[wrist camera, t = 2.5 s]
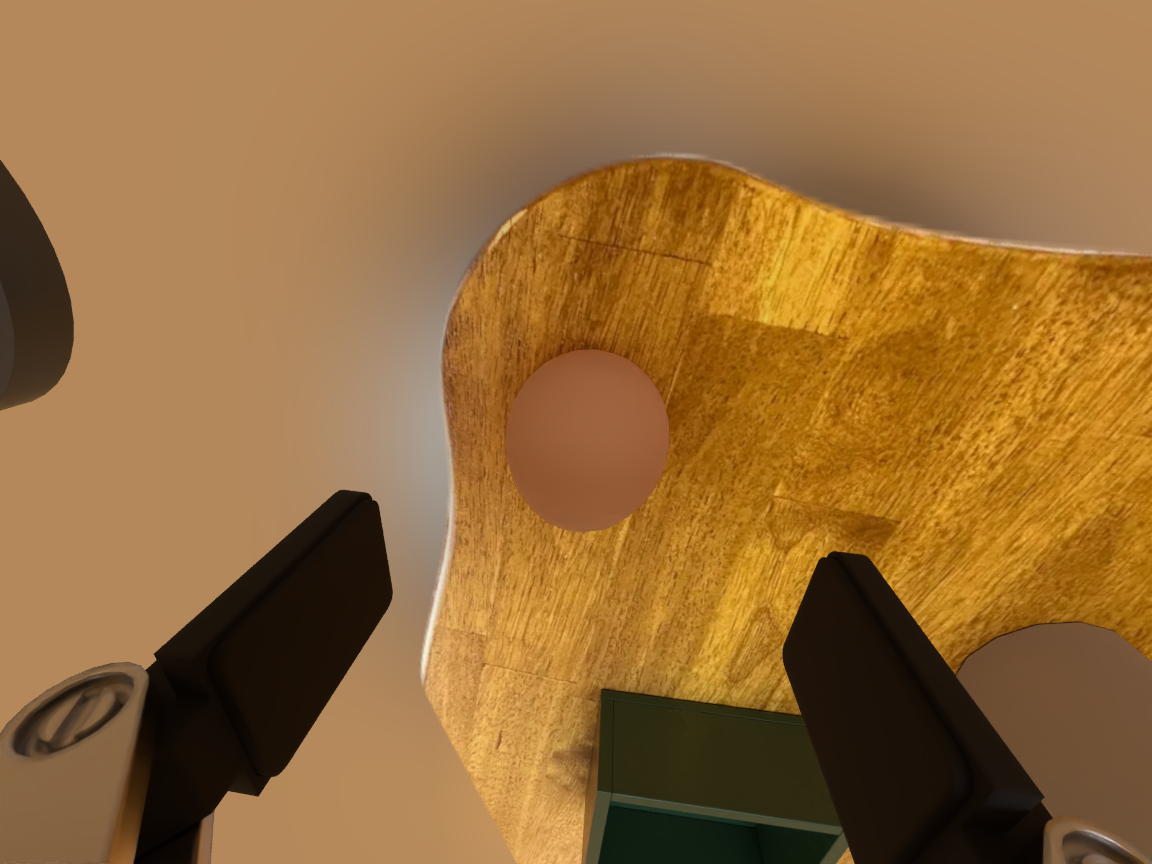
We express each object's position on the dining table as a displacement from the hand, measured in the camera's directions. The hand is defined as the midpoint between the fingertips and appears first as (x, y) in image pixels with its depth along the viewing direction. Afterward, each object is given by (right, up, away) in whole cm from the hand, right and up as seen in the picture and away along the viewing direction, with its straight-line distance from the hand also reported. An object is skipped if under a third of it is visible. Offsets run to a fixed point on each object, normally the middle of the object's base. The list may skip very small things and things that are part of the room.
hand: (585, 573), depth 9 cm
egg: (+1, +5, +10) cm, 11 cm away
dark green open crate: (+8, -20, +21) cm, 30 cm away
